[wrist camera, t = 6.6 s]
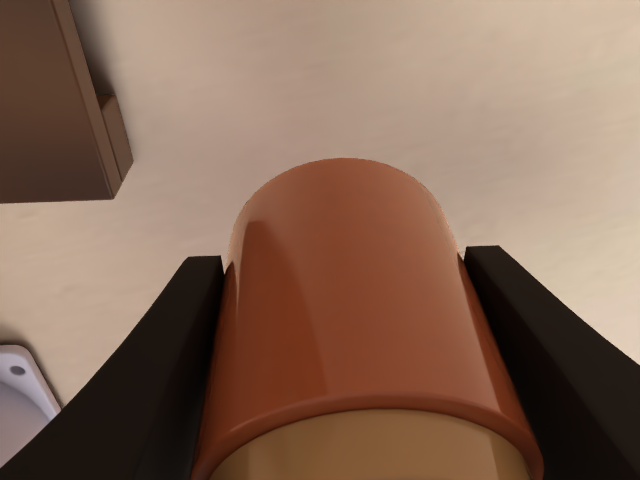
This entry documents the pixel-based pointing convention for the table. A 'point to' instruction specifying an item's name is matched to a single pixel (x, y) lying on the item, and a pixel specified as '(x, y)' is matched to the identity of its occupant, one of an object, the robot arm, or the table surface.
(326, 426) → the spice jar
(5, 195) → the stand
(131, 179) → the table surface
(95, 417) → the robot arm
